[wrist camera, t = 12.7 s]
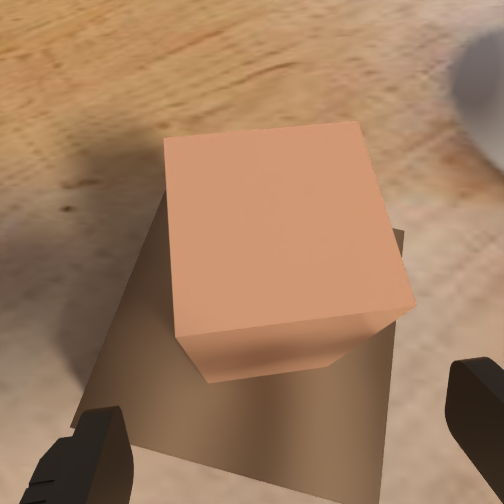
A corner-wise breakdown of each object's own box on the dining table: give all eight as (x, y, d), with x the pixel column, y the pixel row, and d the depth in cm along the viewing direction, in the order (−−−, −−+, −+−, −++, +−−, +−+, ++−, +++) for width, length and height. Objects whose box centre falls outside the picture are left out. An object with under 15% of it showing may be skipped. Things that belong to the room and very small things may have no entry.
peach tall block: (208, 383, 16) (175, 337, 8) (197, 270, 18) (163, 137, 10) (327, 366, 16) (416, 305, 8) (304, 257, 18) (357, 120, 10)
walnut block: (109, 427, 20) (69, 427, 15) (183, 224, 25) (170, 178, 20) (344, 493, 19) (377, 513, 14) (372, 268, 24) (404, 230, 19)
